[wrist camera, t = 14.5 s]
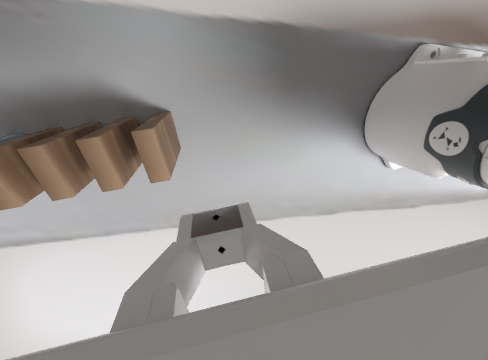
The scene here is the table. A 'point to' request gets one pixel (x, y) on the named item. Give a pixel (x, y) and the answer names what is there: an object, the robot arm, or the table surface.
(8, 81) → the table surface
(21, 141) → the domino
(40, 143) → the domino
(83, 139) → the domino
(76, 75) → the table surface
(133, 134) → the domino
